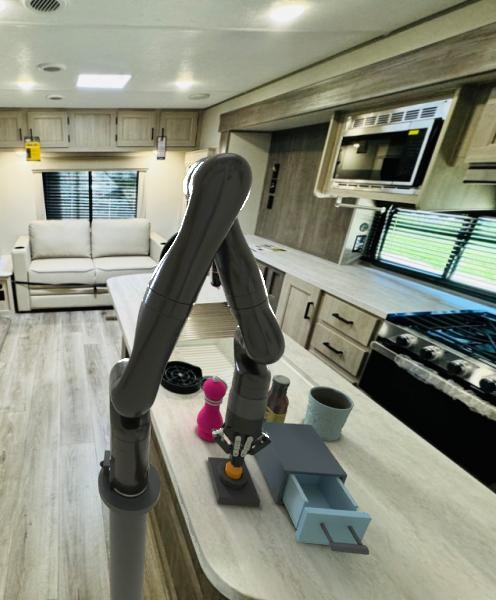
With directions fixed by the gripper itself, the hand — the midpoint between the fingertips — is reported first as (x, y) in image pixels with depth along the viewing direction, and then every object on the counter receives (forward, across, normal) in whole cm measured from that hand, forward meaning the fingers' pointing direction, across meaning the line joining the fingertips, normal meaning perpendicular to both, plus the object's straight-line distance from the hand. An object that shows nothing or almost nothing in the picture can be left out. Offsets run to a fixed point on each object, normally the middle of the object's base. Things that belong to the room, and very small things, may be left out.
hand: (235, 464), depth 74 cm
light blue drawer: (+6, -15, +8) cm, 18 cm away
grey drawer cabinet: (+7, -15, -3) cm, 16 cm away
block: (+6, 0, 0) cm, 6 cm away
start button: (+3, 0, 0) cm, 3 cm away
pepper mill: (+7, +2, -16) cm, 17 cm away
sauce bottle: (+7, -15, -17) cm, 23 cm away
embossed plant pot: (+7, -31, -20) cm, 37 cm away
